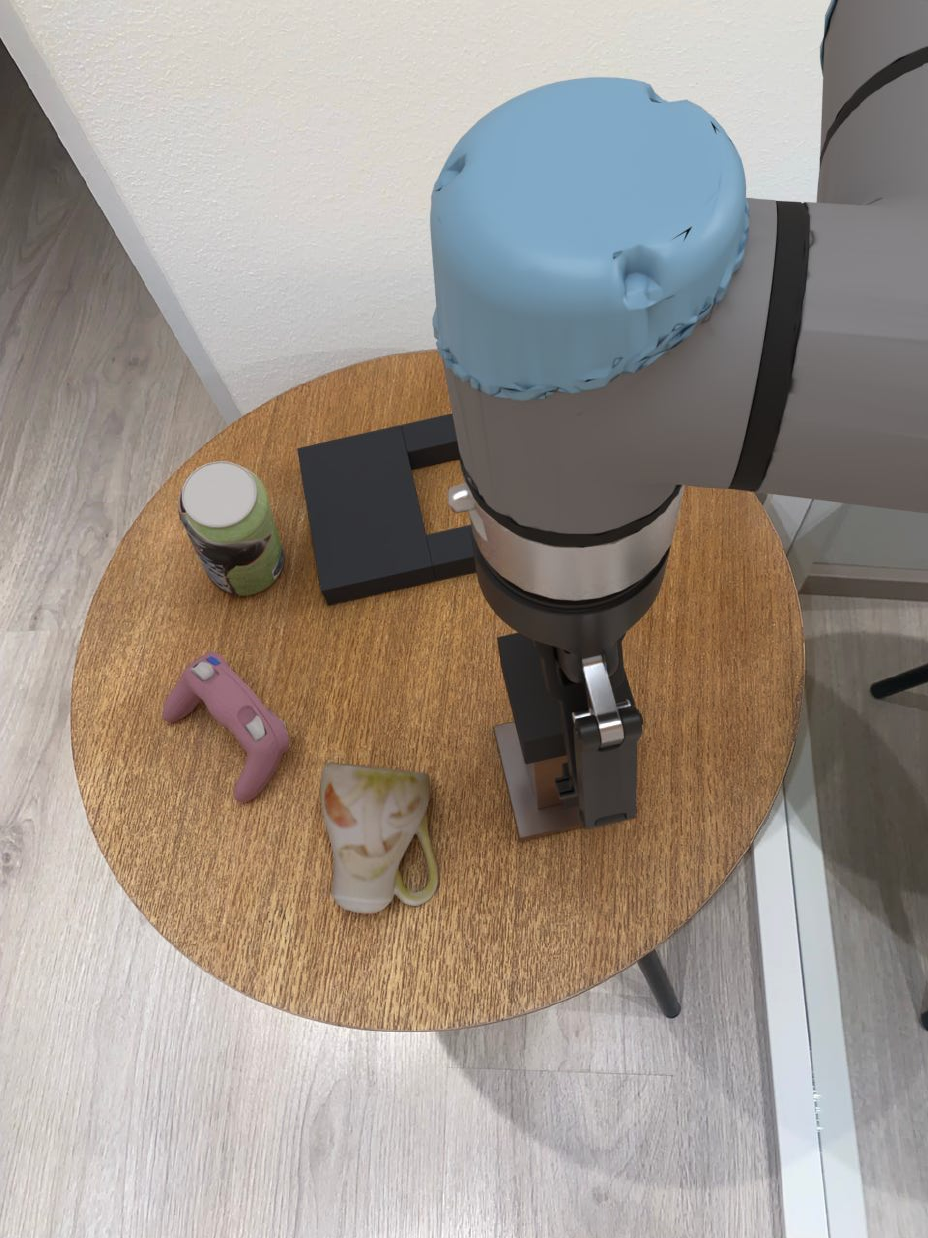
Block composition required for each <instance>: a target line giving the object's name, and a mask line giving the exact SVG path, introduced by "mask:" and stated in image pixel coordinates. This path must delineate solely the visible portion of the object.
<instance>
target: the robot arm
mask: <svg viewBox="0 0 928 1238" xmlns="http://www.w3.org/2000/svg"><path fill="white" fill-rule="evenodd" d="M823 26H824V27H823V37H822V40H821V42H820V45H819V62H820V63H819V64H820V69H821V75H822V93H821V94H822V95H821V96H822V97H821V123H820V146H819V147H820V149H819V151H820V152H819V167H818V177H817V190H816V202H814V201H813V202H812V201H803V202H802V201H793V200H792V201H790V200H776V199H768V198H767V199H766V198H765V199H764V198H755V197H747V179H746V173H745V168H744V164H743V160H742V157H741V155H740V153H739V151H738V149H737V147H736V146H735V144H734V142H733V140H732V139H731V137H730V136H729V135H728V133H727V132H726V130H725V128H724V127H723V126H722V125H721V124H720V123H719V121H718V120H717V119H716V118H715V117H714V116H713V115H712V114H711V113H710V112H708V111H707V110H706V109H704V107H702V106H700V105H699V104H696V103H694V102H693V101H690V100H689V99H682V100H681V99H680V100H674V101H668V100H665V99H663V98H662V97H661V96H660V95H659V94H657V92H656V91H655V90H654V88H653V87H652V85H651V83H647V82H646V81H642V80H637V79H632V78H623V77H614V76H612V77H609V76H595V77H594V76H591V77H581V78H570V79H566V80H559V81H556V82H551V83H547V84H544V85H541V86H538V87H535V88H533V89H532V88H531V89H530V90H527V91H525V92H523V93H521V94H519V95H517V96H513V97H512V98H510V99H508V100H507V101H505V102H503V103H502V104H500V105H498V106H496V107H495V108H493V109H491V110H490V111H489V112H487V113H486V114H485V115H483V116H482V117H481V118H479V120H477V121H476V122H475V123H474V124H473V125H472V126H471V127H470V128H469V129H468V130H467V131H466V132H465V133H464V134H463V135H462V136H461V138H460V139H459V140H458V141H457V142H456V144H455V145H454V146H453V148H452V150H451V152H450V153H449V154H448V156H447V158H446V160H445V162H444V164H443V167H442V168H441V170H440V173H439V175H438V177H437V179H436V181H435V182H434V184H433V188H432V192H431V196H430V210H429V211H430V212H429V228H430V230H429V231H430V244H431V254H432V255H431V257H432V258H431V259H432V269H433V283H434V294H435V295H434V297H435V309H434V311H433V312H434V313H433V316H432V327H433V338H435V339H436V340H437V341H436V342H435V345H436V348H437V352H438V354H439V356H440V357H441V360H442V365H443V370H444V377H445V381H446V388H447V392H448V393H447V394H448V397H449V403H450V409H451V413H452V414H453V420H454V425H455V430H456V436H457V441H458V446H459V452H460V459H459V464H460V469H461V472H462V478H463V481H464V482H462V483H459V484H457V485H453V486H450V487H449V489H448V490H447V491H446V497H447V503H448V506H449V508H450V510H451V512H453V513H455V514H457V515H458V514H461V513H467V512H468V516H469V521H470V522H469V523H470V525H471V540H472V547H473V553H474V560H475V566H476V572H475V573H476V577H477V578H476V579H477V582H478V586H479V589H480V591H481V593H482V595H483V597H484V600H485V601H486V603H487V604H488V606H489V607H490V609H491V610H492V611H493V612H494V613H495V615H496V616H497V617H498V618H499V619H500V620H501V621H502V622H503V623H504V624H505V625H507V626H508V627H509V628H511V629H512V630H514V631H515V632H516V633H520V634H522V635H524V636H526V637H528V638H530V639H532V640H533V643H534V646H535V649H536V652H537V654H538V656H540V659H541V665H542V672H543V677H544V680H545V683H546V686H547V689H548V692H549V695H550V697H551V698H552V699H554V700H558V703H559V709H560V716H561V722H562V729H563V736H564V742H565V749H566V756H567V763H563V764H562V777H560V778H556V779H555V784H556V788H557V792H558V795H559V799H560V800H563V804H564V808H565V809H570V808H574V807H578V806H579V807H580V810H579V812H578V815H579V819H580V822H581V823H582V825H583V827H582V828H584V829H585V830H591V829H595V828H598V827H603V826H607V825H612V824H616V823H620V822H624V821H630V820H634V819H636V818H637V814H636V810H637V811H638V808H637V792H638V791H637V788H638V787H637V786H638V785H637V784H638V783H637V782H638V743H639V741H640V739H641V737H642V736H643V726H644V725H645V722H644V717H643V715H642V712H640V710H639V708H638V707H637V705H636V704H635V705H636V706H635V705H633V706H631V704H630V701H629V700H628V699H626V700H622V701H617V702H616V698H615V689H616V688H617V687H618V686H619V685H621V684H622V683H623V681H624V678H625V674H624V669H625V665H624V664H625V663H624V653H623V641H624V639H625V637H626V635H627V632H628V631H630V629H632V628H633V627H634V626H635V625H636V624H637V623H638V622H639V621H640V620H641V619H643V617H644V616H645V615H646V614H647V613H648V611H649V610H650V609H651V607H652V606H653V605H654V603H655V602H656V600H657V597H658V595H659V593H660V591H661V589H662V585H663V583H664V579H665V575H666V570H667V566H668V561H669V558H670V557H669V556H670V552H671V547H672V543H673V541H674V536H675V532H676V526H677V523H678V518H679V513H680V510H681V505H682V501H683V496H684V494H685V493H684V492H685V488H686V486H687V487H695V488H704V489H717V490H735V491H742V492H743V491H744V492H750V493H759V494H760V493H761V494H768V495H775V496H783V497H784V496H785V497H791V498H799V499H807V500H816V501H822V502H823V501H824V502H825V501H826V502H831V503H832V502H833V503H840V504H846V505H847V504H849V505H855V506H856V505H857V506H863V507H870V508H871V507H872V508H881V509H888V510H896V511H905V512H913V513H921V514H928V0H830V3H829V5H828V7H827V9H826V12H825V15H824V24H823ZM555 659H556V661H557V663H558V664H559V666H560V667H561V668H557V667H556V661H555Z"/></svg>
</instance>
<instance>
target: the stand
mask: <svg viewBox="0 0 928 1238" xmlns="http://www.w3.org/2000/svg"><path fill="white" fill-rule="evenodd" d="M492 729H493V730H492V731H493V734H494V739H495V743H496V747H497V750H498V751H497V752H498V756H499V760H500V764H501V769H502V772H503V773H502V774H503V777H504V781H505V785H506V789H507V794H508V798H509V803H510V808H511V810H512V815H513V820H514V824H515V828H516V833H517V837H518V840H519V842H526V841H530V840H534V839H538V838H542V837H547V836H551V835H555V834H560V833H565V832H568V831H569V832H570V831H573V830H577V829H583V828H584V827H583V825H582V823H581V822H580V819H579V815H578V812H579V810H580V807H579V806H578V807H574V808H570V809H565V808H564V804H563V800H560V799H559V795H558V792H557V788H556V784H555V779H556V778H560V777H562V764H563V763H567V756H561V757H557V758H553V759H548V760H544V761H539V762H535V763H531V764H525V762H524V758H523V754H522V750H521V746H520V742H519V738H518V734H517V730H516V726H515V722H514V721H510V722H506V723H500V724H496V725H493V726H492ZM637 814H638V809H637V810H636V815H637Z"/></svg>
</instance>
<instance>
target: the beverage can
mask: <svg viewBox="0 0 928 1238" xmlns="http://www.w3.org/2000/svg"><path fill="white" fill-rule="evenodd" d="M177 513H178V517H179V520H180V522H181V524H182V526H183V528H184V531H185V532H186V534H187V537H188V538H189V540H190V543H191V545H192V547H193V549H194V551H195V553H196V555H197V556H198V559H199V561H200V563H201V565H202V567H203V569H204V571H205V573H206V576H207V578H208V579H209V580H210V582H211V584H213V585H214V586H215V587H216V588H217V589H219V590H220V591H222V592H224V593H226V594H229V595H234V596H252V595H254V594H258V593H260V592H263V591H264V590H266V589H268V588H269V587H270V586H272V585H273V584H274V583H275V582H276V581H277V579H278V578H279V577H280V574H281V573H282V570H283V567H284V563H285V551H284V548H283V545H282V541H281V537H280V533H279V530H278V527H277V523H276V520H275V517H274V513H273V509H272V506H271V503H270V498H269V495H268V492H267V489H266V486H265V485H264V483H263V481H261V479H260V478H259V476H257V475H256V474H255V473H254V472H252V471H251V470H249V469H248V468H246V467H244V466H241V465H239V464H237V463H234V462H230V461H224V460H221V461H212V462H207V463H206V464H203V465H201V466H199V467H197V468H196V469H195V470H194V471H193V472H191V474H189V476H188V477H187V478H186V480H185V482H184V484H183V486H182V488H181V489H180V492H179V495H178V500H177Z"/></svg>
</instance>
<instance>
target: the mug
mask: <svg viewBox="0 0 928 1238" xmlns="http://www.w3.org/2000/svg"><path fill="white" fill-rule="evenodd" d="M321 771H322V772H321V777H320V782H319V799H320V802H319V803H320V806H321V811H322V815H323V819H324V823H325V827H326V830H327V834H328V838H329V841H330V846H331V849H332V857H333V870H332V871H333V873H332V874H333V876H332V883H331V890H330V894H331V897H332V898H333V899H334V902H336V905H338V906H339V907H340V908H342V909H343V910H346V911H348V912H352V913H357V914H377V913H379V912H381V911H383V910H384V909H386V907H387V906H389V904H390V903H391V902H392V901H393V900H394V899H393V898H394V896H396V897H397V898H398V899H399V900H400V901H401V902H402V903H403V904H404V905H407V906H409V907H418V906H421V905H423V904H425V903H427V902H428V901H429V900H430V899H432V897H433V896H434V895H435V893H436V891H437V888H438V885H439V877H440V876H439V865H438V861H437V857H436V855H435V851H434V848H433V843H432V840H431V835H430V832H429V831H430V830H429V813H428V811H427V809H428V806H429V801H430V796H431V779H430V774H429V773H428V772H421V771H414V770H405V769H399V768H398V769H397V768H391V767H389V768H388V767H383V766H382V767H381V766H371V765H364V764H363V765H362V764H353V763H342V762H341V763H340V762H328V763H326V764H325V765H324V766H323V767H322V770H321ZM414 835H416V836H417V838H418V841H419V844H420V847H421V850H422V852H423V856H424V859H425V862H426V866H427V872H428V877H427V883H426V885H425V886H424V887H423V888H422V889H421V890H418V891H413V890H409V889H408V888H407V887H406V886H405V884H404V880H403V876H402V873H401V870H400V869H399V866H400V863H401V861H402V859H403V857H404V855H405V853H406V851H407V849H408V847H409V845H410V844H411V842H412V840H413V839H414V838H413V837H414Z"/></svg>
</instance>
